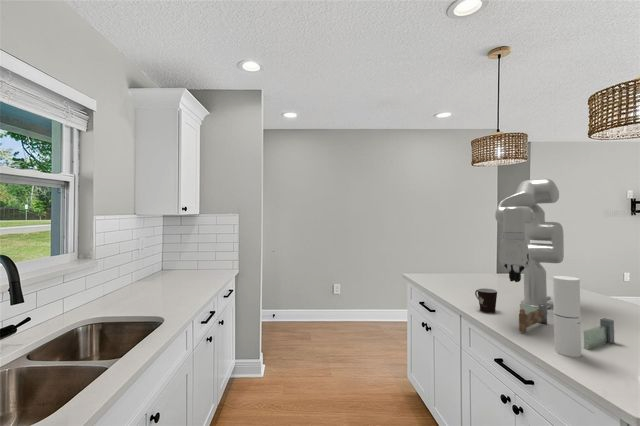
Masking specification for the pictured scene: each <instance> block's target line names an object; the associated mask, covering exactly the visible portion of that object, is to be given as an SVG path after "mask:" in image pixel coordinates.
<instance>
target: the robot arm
mask: <svg viewBox="0 0 640 426" xmlns="http://www.w3.org/2000/svg"><path fill="white" fill-rule="evenodd" d="M559 199H560V191H559V188H558V186H557V185H556V183H555V181H553V180H552V179H551V178H534V179H527V180H523V181H522V182H521V183H519V184H518V186H517V189H516V191H515V194H511V195H510V196H509V197H506V198H504V199H502V200H501V201H500V202H499V203H498V205H497V207H496V210H495V214H494V215H495V220H496V221H497V223H499V224H502V225H503V227H502V228H503V232H502V233H500V235H499V236H500V237H501V238H503V239H501V240H500V244H499V256H498V259H499V265H500V266H502V267H505V269H506V270H507V272H508V278H509V282H515V283H519V282H521V280H522V272H523V290H524V291H523V300H520V304H525V305H529V306H533V307H537V308H539V304H546V305H547V310H548V309H550V308H551V307H552V305H551V304H550V303H548V301H551V300H552V298H551V297H552V296H548V293H547V292H548V291H547V271H546V269H545V268H544V266H543V265H542V263H545V264H561V263H563V261H564V254H565V253H564V252H565V251H564V250H565V247H564V246H565V243H564V241H565V240H564V238H565V237H564V229H563V225H562V224H561V223H560V222H558V221H546V218H545V217H546V214H545V211H544V209H543V208H542V207H541V206H540V205H539V204H555V203H557V202H558V200H559ZM526 239H527V240H528V241H529V240H530V241H537V242H538V243H537V242H528V241H527V240H526ZM539 241H540V242H539ZM541 242H551V243H541ZM514 266H515V269H514Z"/></svg>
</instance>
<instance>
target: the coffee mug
mask: <svg viewBox="0 0 640 426" xmlns="http://www.w3.org/2000/svg"><path fill="white" fill-rule="evenodd" d="M474 295H475V297H476V298H477V299H478V303H479V311H480V312H482V313H485V314H486V313H487V314H495V313H496V308H497V300H498V299H497V298H498V290H496V289H494V288H487V287H486V288H485V287H483V288H482V287H481V288H477V289H476V290H475V292H474Z"/></svg>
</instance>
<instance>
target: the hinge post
mask: <svg viewBox="0 0 640 426" xmlns="http://www.w3.org/2000/svg"><path fill="white" fill-rule="evenodd" d="M520 309H524V310H525V314H528V313H530V312H533V311H535V310H538V309H541V310H542V311H543V320H542V321H540V322H538V323H537V324H540V325H545V326H547V325H548V309H547V305H546V304H539V308H537V307H533V306H529V305H525V304H521V303H519V310H520Z"/></svg>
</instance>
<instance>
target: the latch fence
mask: <svg viewBox="0 0 640 426" xmlns="http://www.w3.org/2000/svg"><path fill="white" fill-rule="evenodd" d="M599 323H600V325H599V326H596V327H593V328H589V329H586V330H583V348H584V349H585V350H591V349H594V348H597V347H600V346H603V345H606V344H608V345H611V344H615V320H614V319H610V318H606V317H605V318H600V320H599Z"/></svg>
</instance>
